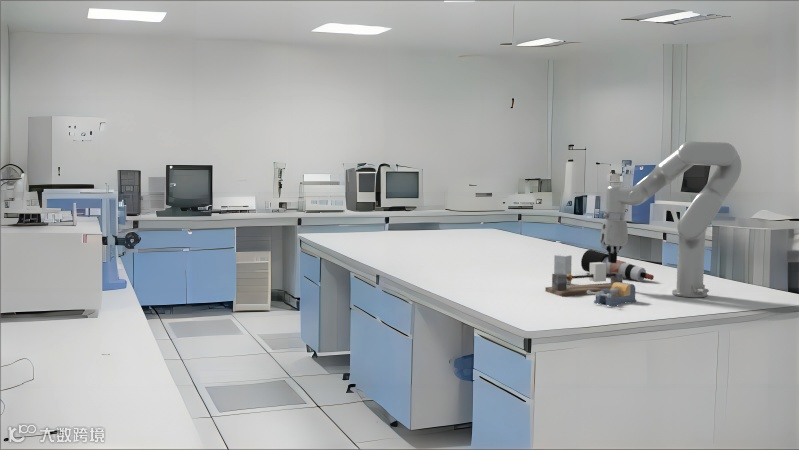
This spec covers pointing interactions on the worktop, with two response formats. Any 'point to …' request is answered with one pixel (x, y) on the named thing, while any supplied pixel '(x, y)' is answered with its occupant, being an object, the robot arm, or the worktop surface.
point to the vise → (615, 294)
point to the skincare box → (562, 264)
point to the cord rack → (562, 289)
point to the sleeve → (597, 271)
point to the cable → (614, 266)
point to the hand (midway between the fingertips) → (612, 262)
